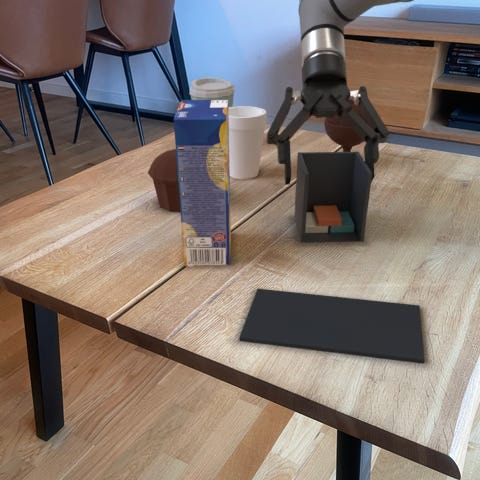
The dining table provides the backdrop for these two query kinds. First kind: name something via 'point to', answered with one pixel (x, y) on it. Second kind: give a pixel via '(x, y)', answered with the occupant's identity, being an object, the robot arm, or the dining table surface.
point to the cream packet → (314, 225)
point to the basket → (332, 191)
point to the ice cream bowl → (343, 130)
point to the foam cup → (245, 140)
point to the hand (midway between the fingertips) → (329, 180)
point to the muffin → (166, 180)
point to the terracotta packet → (327, 215)
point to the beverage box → (204, 180)
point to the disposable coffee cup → (212, 90)
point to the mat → (335, 325)
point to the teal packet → (343, 224)
